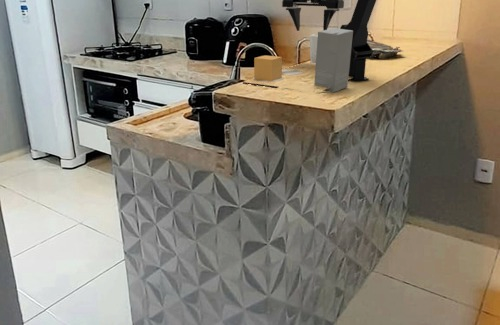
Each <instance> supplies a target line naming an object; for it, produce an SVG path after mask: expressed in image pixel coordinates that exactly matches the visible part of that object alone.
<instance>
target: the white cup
mask: <svg viewBox="0 0 500 325" xmlns="http://www.w3.org/2000/svg"><path fill="white" fill-rule="evenodd" d="M317 40H318V33H316V34H315V33H313V34H309V56H310V64H316V54H317Z"/></svg>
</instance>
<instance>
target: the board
mask: <svg viewBox="0 0 500 325" xmlns="http://www.w3.org/2000/svg"><path fill="white" fill-rule="evenodd" d="M303 72H304V71H301V70H298V69H282V78H280V79H277V80H274V81H266V80H258V79H254V77H252V80H253V81H256V82H263V83H264V82H265V83H266V82H267V83H269V82H274V83H275V82H280V81H283V80H284V79H285V78H284V77H283V76H294V75H301V74H303ZM242 84H243V85H248V84H251V85H250V86H256V85H258V86H257V87H263V86H265V87H266V88H271V89H272V88H273V89H278V88H279V86H278V85H270V84H269V85H268V84H262V83H254V82H246V81H242ZM265 87H264V88H265Z"/></svg>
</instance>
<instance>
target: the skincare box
mask: <svg viewBox="0 0 500 325" xmlns="http://www.w3.org/2000/svg"><path fill="white" fill-rule="evenodd" d="M317 34H318V40H317V54H316V63H315V69H314V70H315V72H314V82H313V83H314V84H313V86H317V87H323V88H326V89H323V90H322V92H328V93H336V92H338V91H341V90H343V89H346V88H348V87H349V86H348V84H349V81H348V79H349V77H350V76H349V67H350V57H351V47H352V37H353V30H345V29H340V28H338V27H337V28H336V27H333V28H330V29H329V28H327V30H319V31H317Z"/></svg>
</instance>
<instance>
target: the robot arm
mask: <svg viewBox="0 0 500 325" xmlns="http://www.w3.org/2000/svg"><path fill="white" fill-rule="evenodd" d="M376 2H377V0H357V2H356V4H355V7H354V11H353V14H352V16H351V19H350V21H349V22H348V23H347V24H341V26H340V27H339V29H345V30H353V37H352V47H351V57H350V67H349V77H351V78H348V82H360V81H361V82H362V81H364V82H365V81H370V79H369V78H368V77H366V73H365V72H366V64H367V63H366V61H367V59H371V58H373V57H372V54H373V50H372V49H371V47H370V46H369V44H368V43H367V40H368V39H369V38H368V37H369V31H368V30H369V29H368V24H369V21H370V19H371V16H372V13H373V10H374V7H375V5H376ZM301 6H306V7H325V8H326V9H324V10H323V27H322V28H323V30H322V31H324V30H328V29H329V26H330V24H331V23H330V22H331V20H332V18H333V17H334V14H335V13H337V12H339V11H340V9H344V8H345V2H344V0H282V1H281V7H282V8H285V11H287V12H289V15H290V17H291V19H292V21H293V24H294V26H295V30H296V31H297V32H298V31H300V29H301V28H300V27H301V10H302V7H301ZM356 52H357V53H356Z"/></svg>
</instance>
